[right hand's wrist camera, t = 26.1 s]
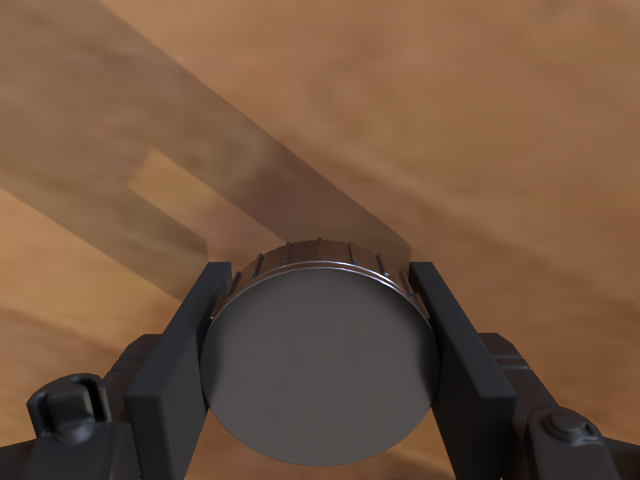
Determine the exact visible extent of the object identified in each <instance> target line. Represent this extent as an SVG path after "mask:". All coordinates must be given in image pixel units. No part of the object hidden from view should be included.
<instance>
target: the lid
mask: <svg viewBox="0 0 640 480" xmlns="http://www.w3.org/2000/svg"><path fill="white" fill-rule="evenodd" d="M429 320H431V318H430V316H429V314H428V312H427V310H426V308H425V305H424V303H423V301H422V299H421V297H420V295H419V293H416V294H415V292H414V290H413V289H412V287H411V285H410V284H409V282H408V280H407V278H406V276H405V273H404V272H403V271H402V270H401V271H400V272H399V271H398V270H397V269H396V268H395V267H394V266H393V265H392V264H390V263H389V262H387V261H386V260H385V259H383V257H382V255H381V254H380V253H378V254H377V255H376V254H375V253H373V252H371V251H369V250H366V249H364V248H361V247H358V246H356V245H354V244H353V242H350V241H349V244H348V243H343V242H338V241H328V240H322V238H318V240H310V241H303V242H296V243H292V244H291V243H290V242H286V245H285V246H281V247H279V248H277V249H274V250H272V251H269V252H267V253H266V254H264V255H262V253H260V254H258V257H257V259H255V260H254V261H253V262H251V263H250V264H249V265H248V266H246V267H245V268H244V269H243V270H242V271H241V272H239V271H237V272H236V273H235V276H234V278H233V280H232V282H231V284H230V286H229V287H228V289H227V291H226V292H225V294H223V293H222V294H221V296H220V298H219V300H218V302H217V304H216V306H215V308H214V310H213V312H212V314H211V316H210V319H209V321H212V322H211V324H210V326H209V328H208V330H207V333H206V336H205V338H204V341H203V344H202V349H201V354H200V378H201V385H202V388H203V391H204V395H205V398H206V400H207V402H208V404H209V406H210V408H211V410H212V412H213V413H214V415H215V416H216V418H217V419H218V421H219V422H220V423H221V424H222V425H223V426H224V427H225V429H226V430H227V431H228V432H230V433H231V434H232V435H233V436H234V437H235V438H236V439H238V440H239V441H240V442H242V443H243V444H245V445H246V446H248V447H249V448H251V449H253V450H255V451H257V452H259V453H261V454H263V455H265V456H268V457H270V458H273V459H276V460H279V461H283V462H286V463H292V464H297V465H304V466H335V465H344V464H348V463H353V462H358V461H361V460H364V459H367V458H370V457H372V456H375V455H377V454H379V453H381V452H384V451H385V450H387V449H389V448H391V447H392V446H394V445H396V444H397V443H398V442H400V441H401V440H402V439H404V438H405V437H406V436H407V435H408V434H409V433H411V432H412V431H413V430H414V429H415V428H416V427H417V425H418V424H419V423H420V422H421V420H422V419H423V418H424V417H425V415H426V413H427V412H428V410H429V409H430V407H431V405H432V403H433V400H434V398H435V396H436V393H437V389H438V385H439V381H440V371H441V361H440V352H439V347H438V342H437V340H436V337H435V335H434V332H433V330H432V327H431V325H430V323H429Z"/></svg>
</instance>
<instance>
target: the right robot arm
mask: <svg viewBox="0 0 640 480" xmlns="http://www.w3.org/2000/svg"><path fill="white" fill-rule="evenodd" d="M231 282H232V271H231V262H209V263H208V264H207V266H206V267H205V269H204V270H203V272H202V274H201V275H200V277H199V278H198V280H197V281H196V283H195V284H194V286H193V287H192V289H191V291H190V292H189V294H188V295H187V297H186V298H185V300H184V301H183V303H182V304H181V306H180V308H179V309H178V311H177V312H176V314H175V315H174V317H173V318H172V320H171V322H170V323H169V325H168V326H167V328H166V329H165V331H164V332H163V334H144V335H142V336H141V337H139V338H138V339H137V340H135V341H134V342H132V343H131V344H129V345H128V346H127V348H126V349H125V350H124V352H123V353H122V354H121V356H120V357H119V360H117V361H116V362H115V364H114V365H113V366H112V368H111V371H109V372H108V373H107V374H106V376H105V377H104V378H103V379H102V378H100V377H99V376H98V375H95V374H90V373H80V374H72V375H69V376H65V377H62V378H59V379H57V380H54V381H52V382H50V383H48V384H46V385H44V386H43V387H42V388H40V389H39V390H38V391H36V392H35V393H34V394H33V395H32V396H31V398H30V399H29V400H28V401H27V403H26V405H27V408H28V411H29V414H30V418H31V421H32V424H33V427H34V430H35V434H36V437H37V438H36V439H33V440H30V441H26V442H22V443H17V444H13V445H9V446H5V447H0V480H139V478H140V480H184V478H185V475H186V472H187V469H188V466H189V463H190V461H191V458H192V455H193V452H194V449H195V446H196V444H197V441H198V438H199V435H200V432H201V429H202V426H203V424H204V421H205V418H206V415H207V412H208V409H209V404H208V402H207V400H206V398H205V395H204V391H203V388H202V385H201V378H200V354H201V349H202V344H203V341H204V338H205V336H206V333H207V330H208V328H209V326H210V324H211V322H212V321H209V319H210V316H211V314H212V312H213V310H214V308H215V306H216V304H217V302H218V300H219V298H220V296H221V294H222V293H223V294H225V292H226V291H227V289H228V287H229V286H230V284H231ZM408 282H409V284H410V285H411V287H412V289H413V290H414V292H415V294H416V293H419V295H420V297H421V299H422V301H423V303H424V305H425V308H426V310H427V312H428V314H429V316H430V318H431V320H429V323H430V325H431V327H432V330H433V332H434V335H435V337H436V340H437V342H438V347H439V352H440V361H441V371H440V381H439V385H438V389H437V393H436V396H435V398H434V400H433V403H432V405H431V408H432V411H433V414H434V416H435V419H436V422H437V425H438V428H439V431H440V434H441V436H442V439H443V442H444V445H445V448H446V451H447V454H448V456H449V459H450V462H451V465H452V468H453V471H454V474H455V476H456V479H457V480H500V479H501V477H502V479H503V480H640V446H639V445H635V444H630V443H626V442H622V441H618V440H613V439H610V438H607V437H603V436H602V434H601V433H600V431H599V430H598V428H597V427H596V426H595V425H594V424H593V423H591V422H590V421H589V420H588V419H587V418H586V417H584V416H582V415H580V414H578V413H576V412H575V411H573V410H570V409H567V408H564V407H561V406H559V405H558V404H557V402H556V401H555V400H554V398H553V397H552V396H551V394H550V393H549V392H548V390H547V389H546V388H545V386H544V385H543V384H542V382H541V381H540V380H539V379H538V377H537V376H536V375H535V373H534V372H533V371H532V370H530V367H529V365H528V364H527V363H526V361H525V360H524V359H522V356H521V355H520V353H519V352H518V351H517V349H516V348H515V347H514V345H513V344H512V343H510V342H509V341H508V340H506V339H505V338H503V337H502V336H500V335H499V334H497V333H477V332H476V330H475V328H474V327H473V325H472V324H471V322H470V321H469V319H468V318H467V316H466V315H465V313H464V311H463V310H462V308H461V307H460V305H459V304H458V302H457V301H456V299H455V297H454V296H453V294H452V293H451V291H450V290H449V288H448V287H447V285H446V284H445V282H444V280H443V279H442V277H441V276H440V274H439V273H438V271H437V270H436V268H435V267H434V265H433V263H432V262H410V266H409V278H408Z"/></svg>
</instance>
